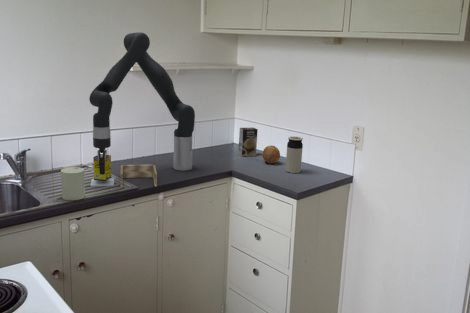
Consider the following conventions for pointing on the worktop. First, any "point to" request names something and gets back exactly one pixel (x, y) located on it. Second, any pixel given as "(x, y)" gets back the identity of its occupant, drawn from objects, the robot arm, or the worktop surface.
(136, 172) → the open wooden frame
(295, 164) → the travel mug
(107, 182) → the pad
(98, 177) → the supplement box
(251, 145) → the coffee box
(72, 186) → the can
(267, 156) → the onion
